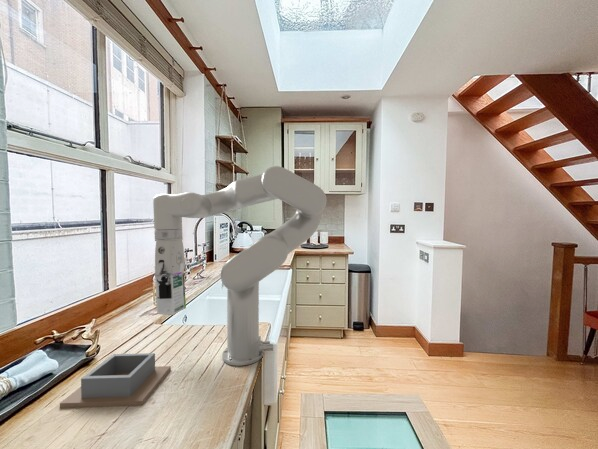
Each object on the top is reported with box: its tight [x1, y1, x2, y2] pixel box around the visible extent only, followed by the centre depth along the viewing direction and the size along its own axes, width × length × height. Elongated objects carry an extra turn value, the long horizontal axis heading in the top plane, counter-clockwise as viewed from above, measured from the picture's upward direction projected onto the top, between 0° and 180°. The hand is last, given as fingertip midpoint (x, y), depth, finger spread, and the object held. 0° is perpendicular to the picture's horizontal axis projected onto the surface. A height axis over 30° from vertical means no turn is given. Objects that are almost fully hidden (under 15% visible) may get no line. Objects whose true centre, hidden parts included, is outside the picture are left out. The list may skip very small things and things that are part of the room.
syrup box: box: [154, 263, 187, 316], centre depth 78 cm, size 6×6×14 cm
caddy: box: [59, 352, 172, 409], centre depth 65 cm, size 18×14×6 cm
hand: (171, 294), depth 78 cm, fingers closed on syrup box, 6 cm apart
